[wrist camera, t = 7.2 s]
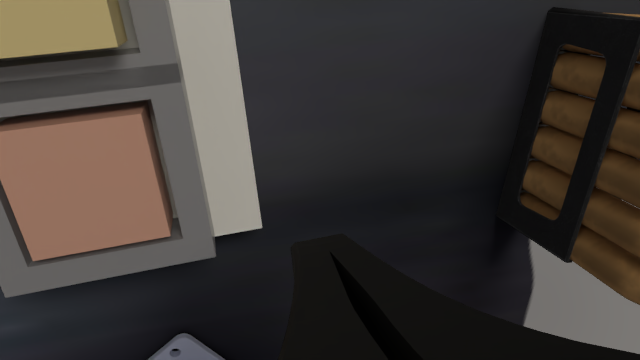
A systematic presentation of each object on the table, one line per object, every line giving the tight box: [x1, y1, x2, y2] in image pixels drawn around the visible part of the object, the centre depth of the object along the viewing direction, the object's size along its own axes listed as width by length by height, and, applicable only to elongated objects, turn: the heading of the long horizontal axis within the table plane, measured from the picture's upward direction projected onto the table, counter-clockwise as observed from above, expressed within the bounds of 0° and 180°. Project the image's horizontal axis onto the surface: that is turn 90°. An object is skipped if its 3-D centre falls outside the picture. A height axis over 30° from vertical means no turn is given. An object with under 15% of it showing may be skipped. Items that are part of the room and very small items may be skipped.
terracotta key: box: [0, 101, 173, 261], centre depth 15 cm, size 4×4×2 cm
